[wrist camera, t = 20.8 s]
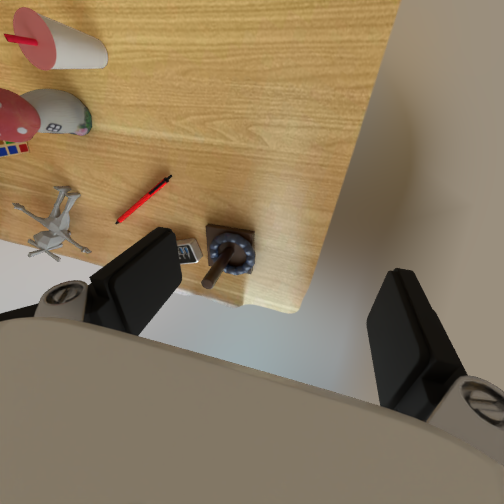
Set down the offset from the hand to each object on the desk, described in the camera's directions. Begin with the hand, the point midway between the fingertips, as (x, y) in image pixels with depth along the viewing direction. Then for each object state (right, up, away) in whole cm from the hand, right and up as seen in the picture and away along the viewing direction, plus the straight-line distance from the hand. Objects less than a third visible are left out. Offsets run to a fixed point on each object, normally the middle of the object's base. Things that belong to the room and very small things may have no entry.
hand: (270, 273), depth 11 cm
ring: (-5, +1, +34) cm, 34 cm away
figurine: (-41, +9, +43) cm, 60 cm away
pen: (-22, +11, +35) cm, 43 cm away
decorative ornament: (-31, +24, +30) cm, 49 cm away
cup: (-23, +30, +24) cm, 44 cm away
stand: (-5, +2, +35) cm, 36 cm away
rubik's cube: (-47, +24, +35) cm, 63 cm away
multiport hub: (-16, +1, +39) cm, 43 cm away
